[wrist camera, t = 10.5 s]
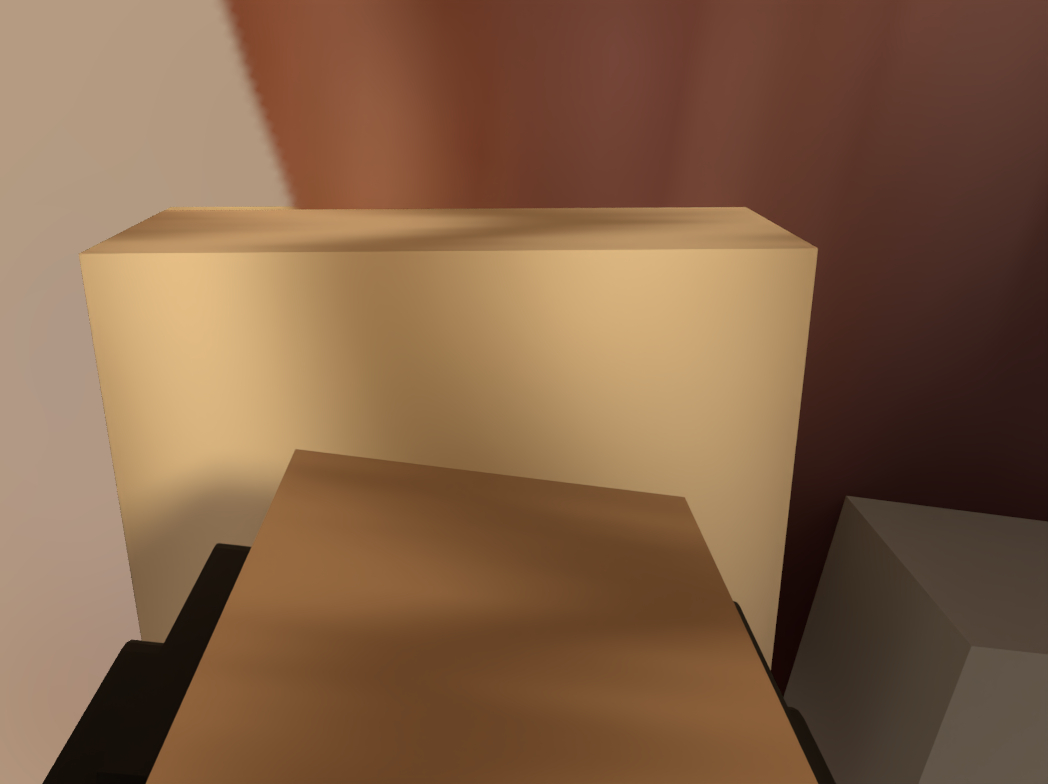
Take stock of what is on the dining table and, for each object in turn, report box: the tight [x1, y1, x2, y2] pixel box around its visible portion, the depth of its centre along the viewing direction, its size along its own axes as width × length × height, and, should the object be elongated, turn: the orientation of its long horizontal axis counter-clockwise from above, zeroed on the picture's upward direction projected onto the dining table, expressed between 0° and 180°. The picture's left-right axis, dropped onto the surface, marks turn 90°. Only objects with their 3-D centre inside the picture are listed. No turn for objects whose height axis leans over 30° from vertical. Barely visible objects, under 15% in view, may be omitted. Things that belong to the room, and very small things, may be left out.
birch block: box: [79, 206, 818, 670], centre depth 16 cm, size 10×10×4 cm
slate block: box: [783, 496, 1048, 784], centre depth 17 cm, size 5×5×5 cm
